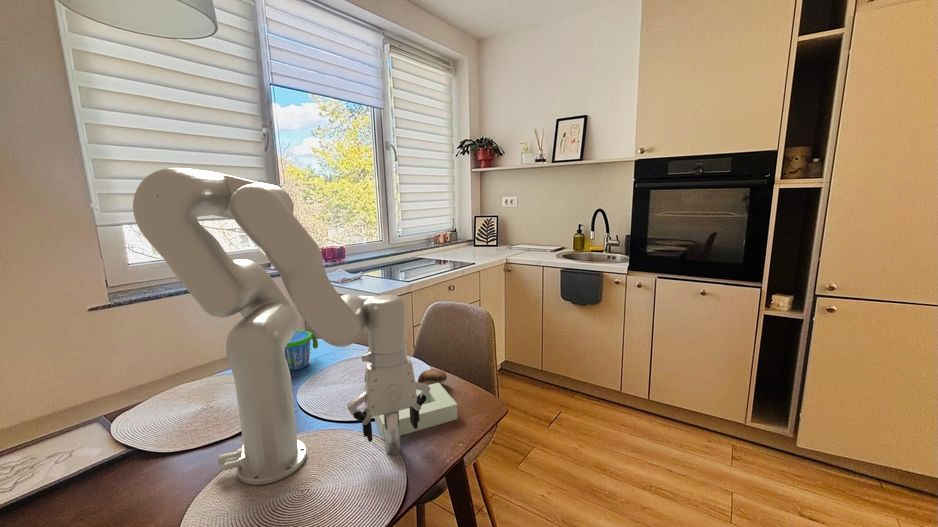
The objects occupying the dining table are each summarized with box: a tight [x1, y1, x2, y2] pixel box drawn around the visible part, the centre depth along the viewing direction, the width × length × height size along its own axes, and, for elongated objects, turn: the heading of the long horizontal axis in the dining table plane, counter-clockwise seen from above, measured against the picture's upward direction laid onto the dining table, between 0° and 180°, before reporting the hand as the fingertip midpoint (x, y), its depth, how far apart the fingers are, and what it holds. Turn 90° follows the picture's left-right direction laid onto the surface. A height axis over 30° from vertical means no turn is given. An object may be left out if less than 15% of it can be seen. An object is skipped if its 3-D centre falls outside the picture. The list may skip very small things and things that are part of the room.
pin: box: [383, 411, 401, 456], centre depth 81 cm, size 3×3×10 cm
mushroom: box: [417, 368, 448, 385], centre depth 107 cm, size 8×8×6 cm
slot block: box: [373, 383, 458, 441], centre depth 94 cm, size 18×12×4 cm, turn 116°
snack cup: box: [285, 329, 319, 371], centre depth 121 cm, size 16×10×10 cm
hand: (392, 431), depth 81 cm, fingers open, 9 cm apart
